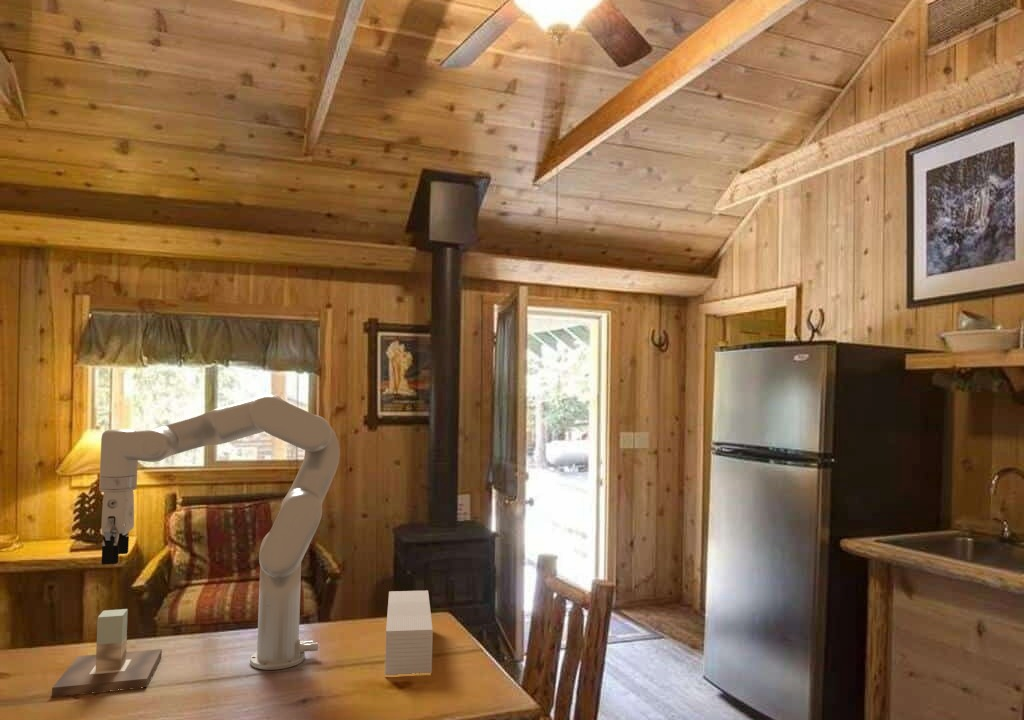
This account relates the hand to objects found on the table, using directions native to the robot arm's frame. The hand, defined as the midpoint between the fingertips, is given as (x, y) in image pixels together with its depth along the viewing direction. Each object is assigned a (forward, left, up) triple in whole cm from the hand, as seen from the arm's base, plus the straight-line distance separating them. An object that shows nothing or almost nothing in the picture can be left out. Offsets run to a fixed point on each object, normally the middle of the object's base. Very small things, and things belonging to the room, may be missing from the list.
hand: (115, 558), depth 160 cm
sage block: (0, 0, -18) cm, 18 cm away
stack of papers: (-67, +2, -27) cm, 72 cm away
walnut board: (0, 0, -26) cm, 26 cm away
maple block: (0, 0, -24) cm, 24 cm away
